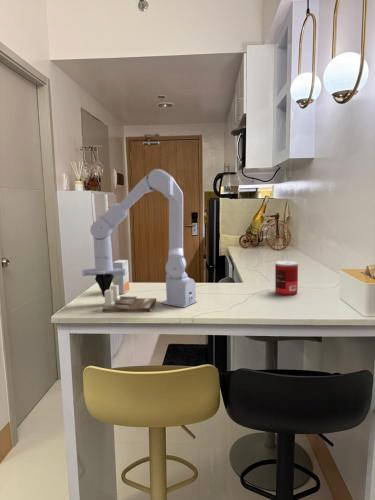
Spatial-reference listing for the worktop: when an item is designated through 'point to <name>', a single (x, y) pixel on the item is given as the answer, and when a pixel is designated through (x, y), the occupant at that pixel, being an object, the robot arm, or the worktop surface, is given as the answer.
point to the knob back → (115, 292)
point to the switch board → (131, 304)
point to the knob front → (109, 298)
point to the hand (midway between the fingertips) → (105, 296)
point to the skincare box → (119, 279)
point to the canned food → (286, 277)
